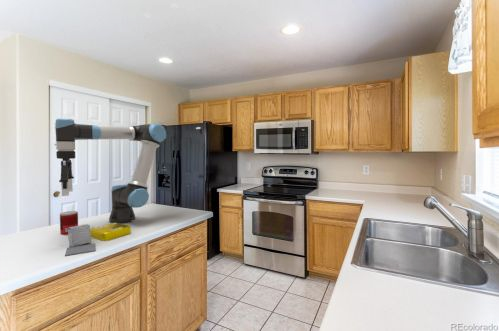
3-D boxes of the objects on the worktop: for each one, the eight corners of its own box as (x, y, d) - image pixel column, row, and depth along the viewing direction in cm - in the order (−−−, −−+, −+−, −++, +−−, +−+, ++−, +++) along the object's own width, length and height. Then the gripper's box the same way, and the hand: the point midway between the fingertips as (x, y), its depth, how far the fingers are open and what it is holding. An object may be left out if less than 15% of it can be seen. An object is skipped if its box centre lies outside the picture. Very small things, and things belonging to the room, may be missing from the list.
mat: (95, 244, 120) (95, 243, 120) (95, 251, 112) (95, 250, 112) (67, 248, 115) (67, 247, 115) (64, 256, 107) (64, 255, 107)
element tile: (105, 242, 124) (104, 232, 124) (88, 237, 132) (87, 228, 132) (132, 233, 138) (132, 225, 137) (115, 229, 145) (115, 221, 145)
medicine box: (88, 241, 124) (86, 224, 124) (91, 242, 121) (90, 224, 121) (69, 246, 118) (67, 227, 118) (72, 247, 115) (70, 228, 115)
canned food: (81, 230, 140) (81, 211, 140) (67, 235, 133) (67, 214, 132) (71, 229, 142) (70, 210, 142) (56, 234, 135) (56, 213, 134)
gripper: (60, 150, 133) (62, 190, 134) (51, 150, 111) (53, 198, 112) (77, 150, 136) (79, 189, 138) (72, 150, 115) (73, 196, 116)
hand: (67, 193), depth 125 cm, fingers open, 13 cm apart
